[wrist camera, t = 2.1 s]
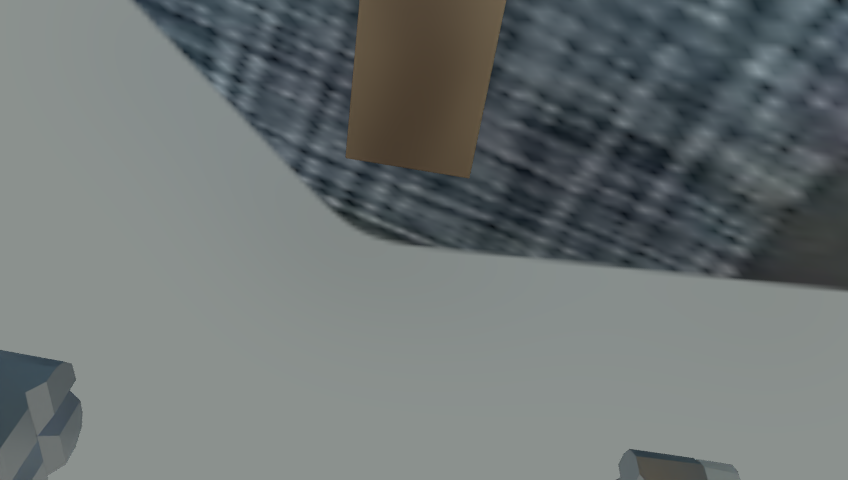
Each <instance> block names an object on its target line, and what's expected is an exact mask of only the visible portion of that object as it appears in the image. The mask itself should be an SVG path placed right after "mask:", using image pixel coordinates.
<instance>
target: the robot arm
mask: <svg viewBox="0 0 848 480" xmlns="http://www.w3.org/2000/svg"><path fill="white" fill-rule="evenodd" d="M75 381H76V378H75V374H74V370H73V366H72V364H71V363H67V362H63V361H57V360H52V359H46V358H41V357H35V356H30V355H24V354H19V353H14V352H8V351H3V350H0V480H48V477H47V476H48V475H49V474H51V473H52V472H54V471H56V470H57V469H59V468H60V467H62V466H64V465H65V464H66V463H67V461H68V459H69V458H70V456H71V454H72V452H73V450H74V448H75V447H76V443H77V440H78V437H79V434H80V431H81V427H82V408H81V402H80V400H79V399H78V398H77V397H76V396H75V395H74V394H73V393H72V392H71V391H70V388H71V387H72V386H73V384H74V382H75ZM619 471H620V478H619V479H617V480H740V478H739V474H738V471H737V470H736V469H735V468H734V466H733V465H730V464H724V463H717V462H711V461H704V460H695V459H694V458H689V457H682V456H674V455H667V454H661V453H654V452H647V451H640V450H633V449H629V450H628V451H626V452H625V453H624V454H623V456H622V458H621V461H620V463H619Z"/></svg>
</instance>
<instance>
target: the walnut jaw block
mask: <svg viewBox="0 0 848 480" xmlns="http://www.w3.org/2000/svg"><path fill="white" fill-rule="evenodd" d="M505 4H506V0H360V2H359V13H358V25H357V36H356V47H355V58H354V69H353V80H352V91H351V103H350V114H349V125H348V136H347V147H346V158H349V159H355V160H361V161H367V162H373V163H379V164H385V165H391V166H397V167H403V168H409V169H415V170H422V171H428V172H434V173H440V174H446V175H452V176H458V177H464V178H469V177H470V173H471V168H472V163H473V158H474V153H475V149H476V144H477V139H478V134H479V129H480V124H481V120H482V115H483V110H484V105H485V100H486V96H487V91H488V86H489V81H490V76H491V71H492V67H493V62H494V57H495V52H496V47H497V43H498V38H499V33H500V28H501V23H502V18H503V14H504V9H505Z"/></svg>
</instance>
